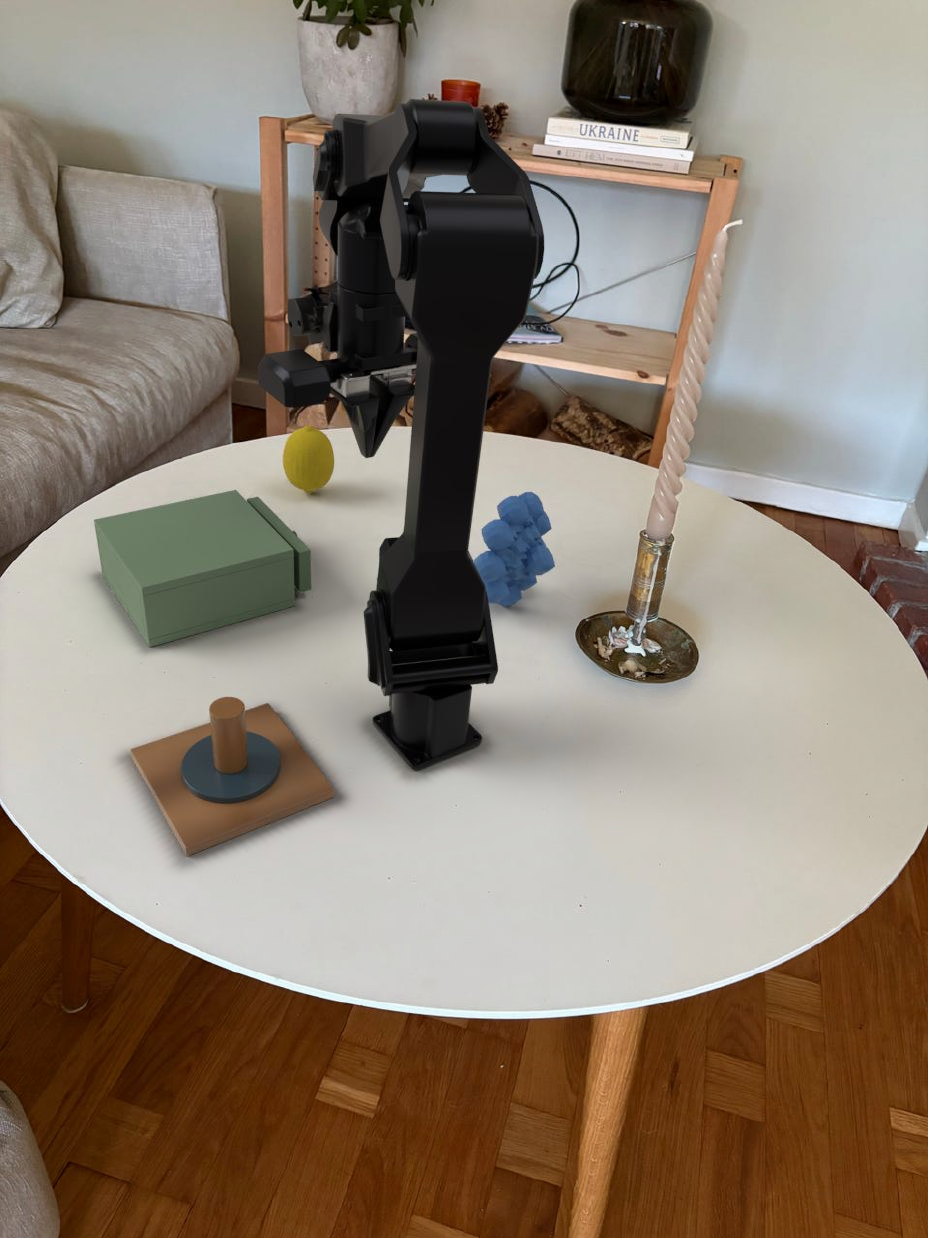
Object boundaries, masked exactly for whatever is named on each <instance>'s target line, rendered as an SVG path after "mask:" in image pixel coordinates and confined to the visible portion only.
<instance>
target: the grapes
mask: <svg viewBox="0 0 928 1238" xmlns="http://www.w3.org/2000/svg"><path fill="white" fill-rule="evenodd" d="M496 510H497V514H498V517H499V519H498V518H497V519H496V518H495V519H493V520H491V521H489V522H487V523H486V524H485V525H484V526H483V527H482V528H481V529H480V531H481V537H482V540H483V542H484V544H485V545H486V547H487V548H488V550H485V551H484V552H482V553H480V554H479V555H478V556H477V557H475V558H474V559H473V561H474V563H475V565H476V567H477V570H478V572H479V574H480V576H481V578H482V580H483V582H484V584H485V587H486V592H487V596H488V602H489V605H493V604H498V605H499V606H501V607H503V608H506V607H510V606H513V605H515V604H517V603H518V602H519V601H521V599H523V595H522V592H524V591H526V590H528V589H531V588H532V587H534V586H535V585H536V584H537V583H538V580H537V576H543V575H546V574H547V573H549V572H550V571H552V570H553V569H554V568H555V567H556V564H555V560H554V556H553V553H552V552H551V550H550V549H549V547H547V544H546V543H545V541H544V540H543V536H544V535H547V534H548V533H549V532H550V531H551V530H552V529H553V528H552V524H551V520H550V517H549V516H548V513H547V512H546V511H545V508H544V505H543V502H542V500H541V498H540V496H539V495H538V494H536V493H535V492H532V491H526V492H523V493H521V494H519V495H509V496H507V497H506V498H504V499H503V500H501V501H500V502H499V503H498V504H497V505H496Z"/></svg>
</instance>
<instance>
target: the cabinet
mask: <svg viewBox="0 0 928 1238" xmlns="http://www.w3.org/2000/svg"><path fill="white" fill-rule="evenodd" d="M93 523H94V531H95V536H96V542H97V549H98V550H97V551H98V556H99V561H100V568H101V574H102V578H103V579H104V581H105V582H106V583H107V586H108V587H109V588H110V590H111V591H112V593H113V595H115V597H116V598H117V600H118V602H119V604H120V605H121V607H122V608H123V609H124V610H125V612H126V614H127V615H128V617H129V618H130V620H131V621H132V623H133V625H134V626H135V628H136V629H137V631H138V633H140V635H141V637H142V639H143V640H144V641H145V643H146V644H147V646H148V647H149V648H153V647H156V646H160V645H163V644H167V643H170V642H173V641H177V640H181V639H184V638H187V637H191V636H194V635H197V634H201V633H204V632H209V631H212V630H216V629H218V628H222V627H226V626H229V625H233V624H237V623H241V622H243V621H246V620H250V619H255V618H258V617H261V616H264V615H268V614H271V613H276V612H278V611H282V610H285V609H289V608H292V607H295V606H296V603H295V602H296V601H295V600H296V599H295V597H296V596H295V587H294V549H293V548H292V547H291V546H290V545H289V544H288V543H287V542H286V541H285V540H284V539H283V538H282V537H281V536H280V535H279V534H278V533H277V532H276V531H275V530H274V529H273V528H272V527H271V526H270V525H269V524H268V523H267V521H266V520H265V519H264V518H263V517H262V516H261V515H260V514H259V513H258V512H257V511H256V510H255V509H254V508H253V507H252V506H251V505H250V504H249V503H248V502H247V499H246V498H245V497H243V495H242V494H240V492H239V491H238V490H237V489H233V490H228V491H222V492H218V493H213V494H209V495H205V496H200V497H199V496H198V497H195V498H190V499H185V500H180V501H176V502H172V503H170V502H169V503H166V504H162V505H156V506H152V507H146V508H143V509H139V510H138V509H137V510H133V511H128V512H124V513H119V514H114V515H109V516H105V517H104V516H103V517H100V518H95V519H93Z"/></svg>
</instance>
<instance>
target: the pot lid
mask: <svg viewBox="0 0 928 1238" xmlns="http://www.w3.org/2000/svg"><path fill="white" fill-rule="evenodd" d="M208 711H209V712H208V713H209V723H210V725H211V735H210V736H207V737H205V738H203V739H201V740H200V741H198V742H196V743H195V744H194V745H193V746H192V747H191V748H190V749H189V750H188V751H187V752H186V754H185V756H184V758H183V760H182V763H181V775H182V779H183V782H184V784H185V786H186V787H187V789H188V790H189V791H190V792H191V793H193V794H194V795H195V796H197V797H199V798H201V799H203V800H206V801H210V802H214V803H237V802H242V801H246V800H249V799H252V798H254V797H257V796H259V795H260V794H262V793H264V792H265V791H266V790H268V789H269V788H270V787H271V786H272V785H273V784H274V782H275V781H276V779H277V778H278V776H279V773H280V769H281V759H280V754H279V752H278V750H277V748H276V747H275V745H274V744H273V743H272V742H271V741H269V740H268V739H267V738H265V737H263V736H261V735H259V734H256V733H252V732H248V731H246V717H245V711H246V706H245V703H244V702H243V701H242V700H241V699H240V698H238V697H235V696H223V697H219V698H216V699H215V700H213V702H211V704H210V705H209V708H208Z"/></svg>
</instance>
